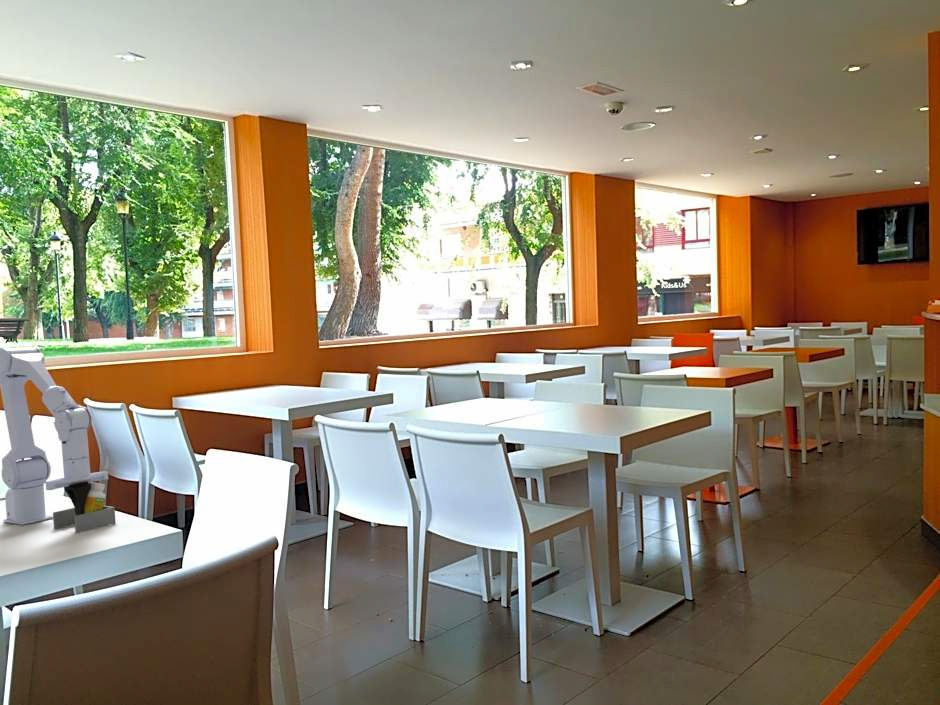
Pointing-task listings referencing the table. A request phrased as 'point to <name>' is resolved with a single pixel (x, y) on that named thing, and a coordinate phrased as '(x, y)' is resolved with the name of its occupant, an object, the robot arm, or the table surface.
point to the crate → (84, 519)
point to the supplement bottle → (95, 498)
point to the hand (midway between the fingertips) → (80, 514)
